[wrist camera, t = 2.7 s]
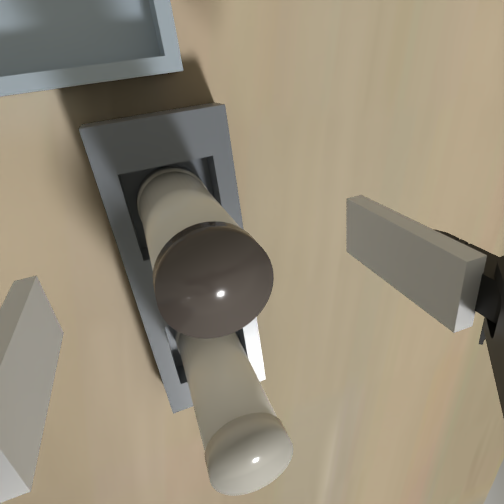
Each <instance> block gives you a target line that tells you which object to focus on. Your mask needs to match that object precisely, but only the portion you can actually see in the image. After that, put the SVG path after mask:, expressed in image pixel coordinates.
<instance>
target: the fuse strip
mask: <svg viewBox="0 0 504 504" xmlns="http://www.w3.org/2000/svg"><path fill="white" fill-rule="evenodd" d="M79 132H80V135H81V138H82V141H83V144H84V147H85V150H86V153H87V156H88V159H89V162H90V165H91V168H92V171H93V174H94V177H95V180H96V183H97V186H98V189H99V192H100V195H101V198H102V201H103V204H104V207H105V210H106V213H107V216H108V219H109V222H110V225H111V228H112V231H113V234H114V237H115V240H116V243H117V246H118V249H119V252H120V255H121V258H122V261H123V264H124V267H125V270H126V273H127V276H128V279H129V282H130V285H131V288H132V291H133V294H134V297H135V300H136V303H137V306H138V309H139V312H140V315H141V318H142V321H143V324H144V327H145V330H146V333H147V336H148V339H149V342H150V345H151V348H152V351H153V354H154V357H155V360H156V363H157V366H158V369H159V372H160V375H161V378H162V381H163V384H164V387H165V390H166V393H167V396H168V399H169V402H170V405H171V408H172V411H173V413H176V412H179V411H181V410H184V409H187V408H189V407H192V406H193V402H192V398H191V394H190V390H189V386H188V382H187V378H186V374H185V370H184V366H183V362H182V359H181V355H180V353H179V351H178V348H177V344H176V340H175V329H173V328H172V327H171V326H170V325H168V324H167V322H166V321H165V320H164V319H163V317H162V315H161V314H160V312H159V309H158V306H157V302H156V297H155V292H154V287H153V278H152V276H153V270H152V265H151V261H150V256H149V251H148V247H147V242H146V237H145V233H144V228H143V223H142V221H141V219H140V216H139V213H138V208H137V201H136V199H137V192H138V189H139V186H140V184H141V182H142V181H143V180H144V178H145V177H146V176H147V175H148V174H150V173H151V172H152V171H154V170H156V169H158V168H161V167H165V166H178V167H182V168H185V169H188V170H189V171H191V172H193V173H194V174H195V175H196V176H197V177H198V178H199V179H200V180H201V181H202V182H203V184H204V185H205V186H206V188H207V190H208V191H209V192H210V194H211V195H212V196H213V197H214V198H215V199H216V200H217V202H218V203H219V204H220V205H221V206H222V207H223V208H224V209H225V211H226V212H227V213H228V214H229V215H230V216H231V217H232V218H233V220H234V221H235V222H236V223H237V224H238V225H239V226H240V228H242V229H243V223H242V216H241V209H240V203H239V196H238V189H237V182H236V176H235V169H234V162H233V155H232V149H231V142H230V135H229V128H228V122H227V115H226V108H225V104H220V103H215V102H214V103H208V104H202V105H196V106H190V107H184V108H178V109H172V110H166V111H160V112H154V113H148V114H141V115H135V116H129V117H123V118H117V119H111V120H105V121H99V122H93V123H87V124H82V125H81V126H80V128H79ZM243 230H244V229H243ZM235 333H236V335H237V337H238V339H239V341H240V343H241V345H242V347H243V349H244V351H245V353H246V355H247V357H248V359H249V361H250V363H251V365H252V367H253V369H254V371H255V373H256V375H257V377H258V379H259V381H262V380H265V379H266V378H265V371H264V364H263V357H262V351H261V344H260V337H259V331H258V324H257V317H256V318H255V319H254V320H253V321H251V322H250V323H249V324H248V325H246V326H245V327H243V328H242V329H240V330H238V331H236V332H235Z"/></svg>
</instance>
